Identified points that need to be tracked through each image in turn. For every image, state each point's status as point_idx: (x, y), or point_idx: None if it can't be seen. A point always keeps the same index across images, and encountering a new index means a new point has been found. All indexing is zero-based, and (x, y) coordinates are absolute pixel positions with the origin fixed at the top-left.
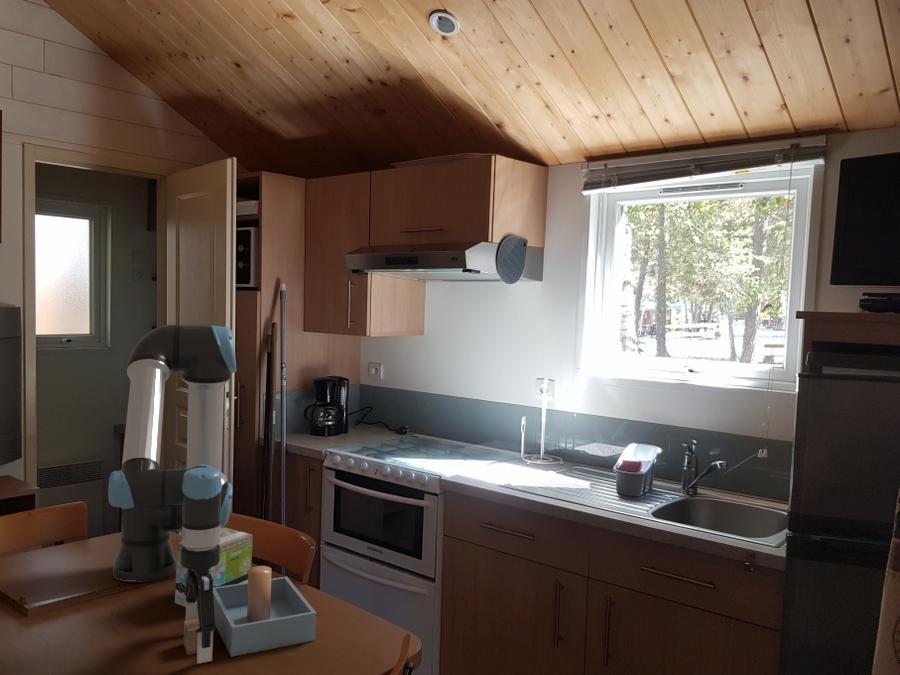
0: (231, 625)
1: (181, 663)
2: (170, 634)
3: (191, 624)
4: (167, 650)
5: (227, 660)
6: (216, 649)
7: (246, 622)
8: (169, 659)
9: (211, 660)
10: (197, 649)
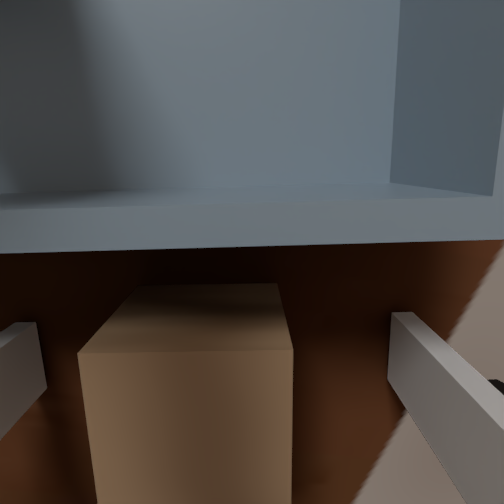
0: (473, 233)
1: (351, 436)
2: (17, 449)
3: (182, 489)
4: None
5: None
6: (275, 264)
7: (4, 9)
8: None
9: (413, 315)
10: (418, 425)
